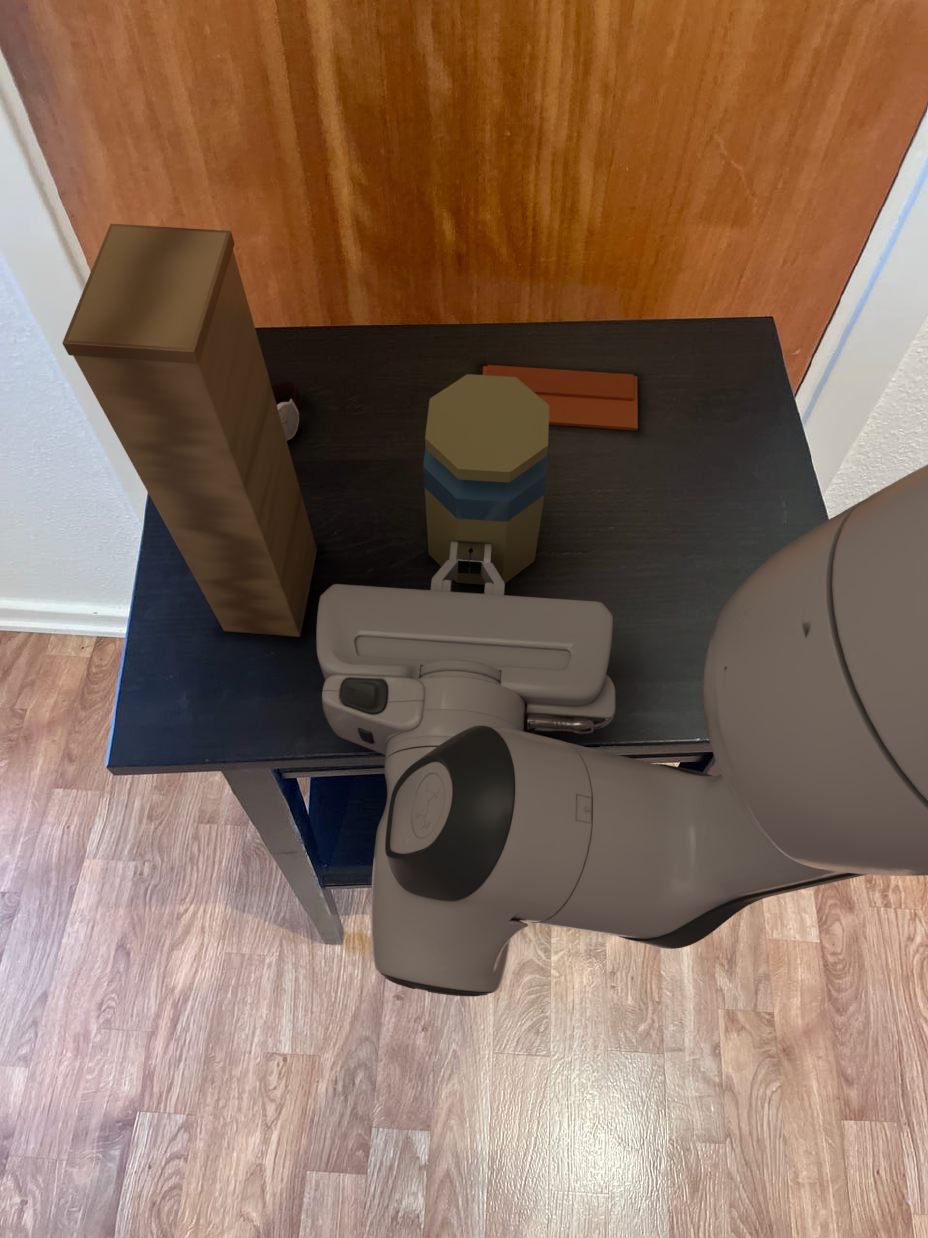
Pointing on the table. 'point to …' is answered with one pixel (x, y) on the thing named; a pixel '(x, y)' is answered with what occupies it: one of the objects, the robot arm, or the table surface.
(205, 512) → the tall box
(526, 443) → the jar
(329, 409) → the table surface
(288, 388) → the watch
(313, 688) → the table surface
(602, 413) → the cloth
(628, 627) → the table surface
